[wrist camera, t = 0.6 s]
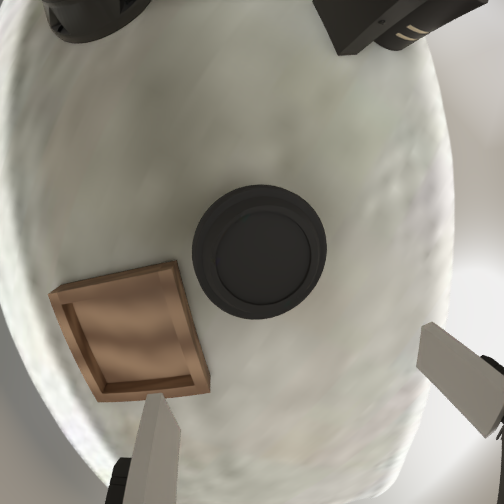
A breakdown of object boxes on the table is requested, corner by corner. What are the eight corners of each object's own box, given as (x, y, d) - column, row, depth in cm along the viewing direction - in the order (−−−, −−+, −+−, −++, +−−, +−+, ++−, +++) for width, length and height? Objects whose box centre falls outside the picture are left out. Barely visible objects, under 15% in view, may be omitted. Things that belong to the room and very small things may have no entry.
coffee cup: (300, 215, 32) (365, 240, 17) (255, 282, 33) (284, 353, 18) (231, 169, 30) (244, 153, 15) (186, 240, 31) (160, 287, 16)
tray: (60, 284, 30) (47, 294, 27) (176, 260, 31) (171, 268, 28) (104, 387, 34) (98, 402, 30) (210, 375, 35) (210, 392, 32)
